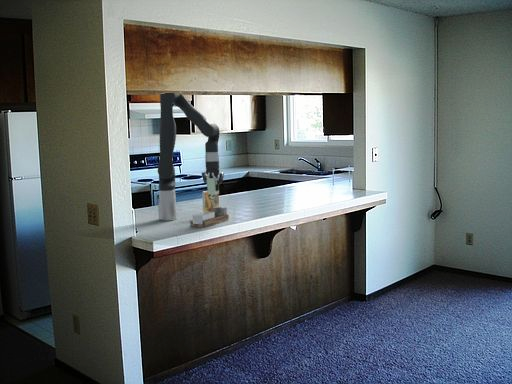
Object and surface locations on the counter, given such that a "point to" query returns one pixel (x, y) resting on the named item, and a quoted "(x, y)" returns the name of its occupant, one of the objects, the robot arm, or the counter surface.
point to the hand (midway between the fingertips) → (213, 190)
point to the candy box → (209, 201)
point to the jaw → (203, 217)
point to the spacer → (212, 186)
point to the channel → (219, 217)
